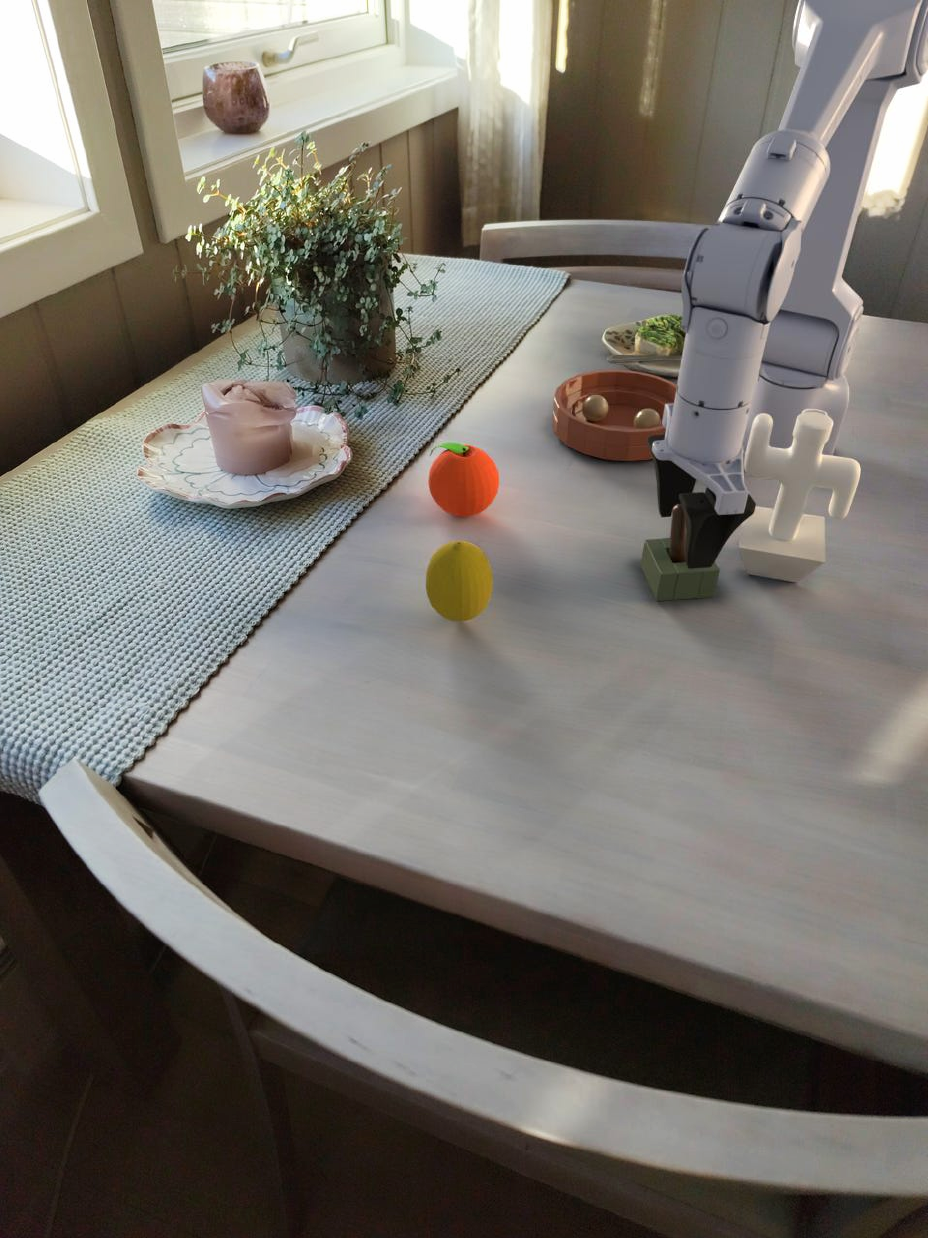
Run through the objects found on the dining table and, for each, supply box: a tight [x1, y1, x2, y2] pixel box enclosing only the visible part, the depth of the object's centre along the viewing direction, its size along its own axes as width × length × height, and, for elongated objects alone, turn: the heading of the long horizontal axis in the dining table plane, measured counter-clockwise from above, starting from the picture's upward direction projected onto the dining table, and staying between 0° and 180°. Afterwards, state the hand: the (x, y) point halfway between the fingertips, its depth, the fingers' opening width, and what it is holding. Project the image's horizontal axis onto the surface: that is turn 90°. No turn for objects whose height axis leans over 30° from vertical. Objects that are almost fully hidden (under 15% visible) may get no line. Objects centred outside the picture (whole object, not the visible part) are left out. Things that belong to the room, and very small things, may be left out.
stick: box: [669, 504, 686, 563], centre depth 75 cm, size 1×1×8 cm
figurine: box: [738, 409, 861, 584], centre depth 75 cm, size 7×9×15 cm
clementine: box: [427, 442, 500, 518], centre depth 85 cm, size 8×7×7 cm
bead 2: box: [634, 409, 661, 429], centre depth 97 cm, size 3×3×3 cm
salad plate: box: [600, 314, 686, 378], centre depth 113 cm, size 19×18×5 cm
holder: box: [640, 537, 721, 602], centre depth 77 cm, size 5×5×3 cm
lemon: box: [425, 540, 494, 622], centre depth 71 cm, size 6×6×8 cm
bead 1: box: [582, 395, 608, 422], centre depth 99 cm, size 3×3×3 cm
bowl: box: [551, 369, 677, 462], centre depth 98 cm, size 15×15×4 cm
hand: (684, 539), depth 75 cm, fingers open, 7 cm apart
